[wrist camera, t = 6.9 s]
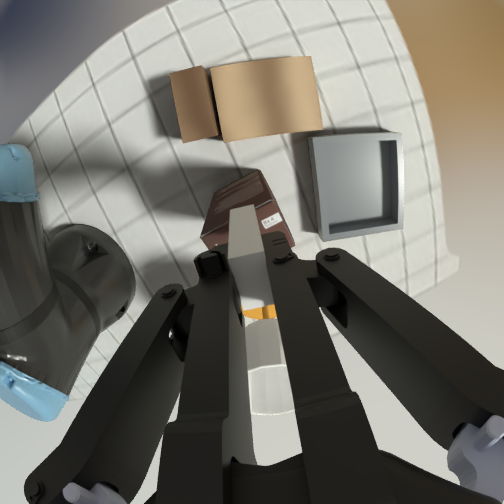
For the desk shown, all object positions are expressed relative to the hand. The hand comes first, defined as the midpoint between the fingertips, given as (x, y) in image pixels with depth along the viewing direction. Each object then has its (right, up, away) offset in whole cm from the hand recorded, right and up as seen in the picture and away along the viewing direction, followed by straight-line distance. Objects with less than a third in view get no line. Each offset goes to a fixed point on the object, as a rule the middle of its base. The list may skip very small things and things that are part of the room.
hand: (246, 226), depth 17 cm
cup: (+2, -7, +19) cm, 20 cm away
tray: (+13, +7, +12) cm, 19 cm away
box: (0, +5, +13) cm, 14 cm away
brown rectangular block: (-5, +14, +8) cm, 17 cm away
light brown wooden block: (+2, +15, +9) cm, 17 cm away
